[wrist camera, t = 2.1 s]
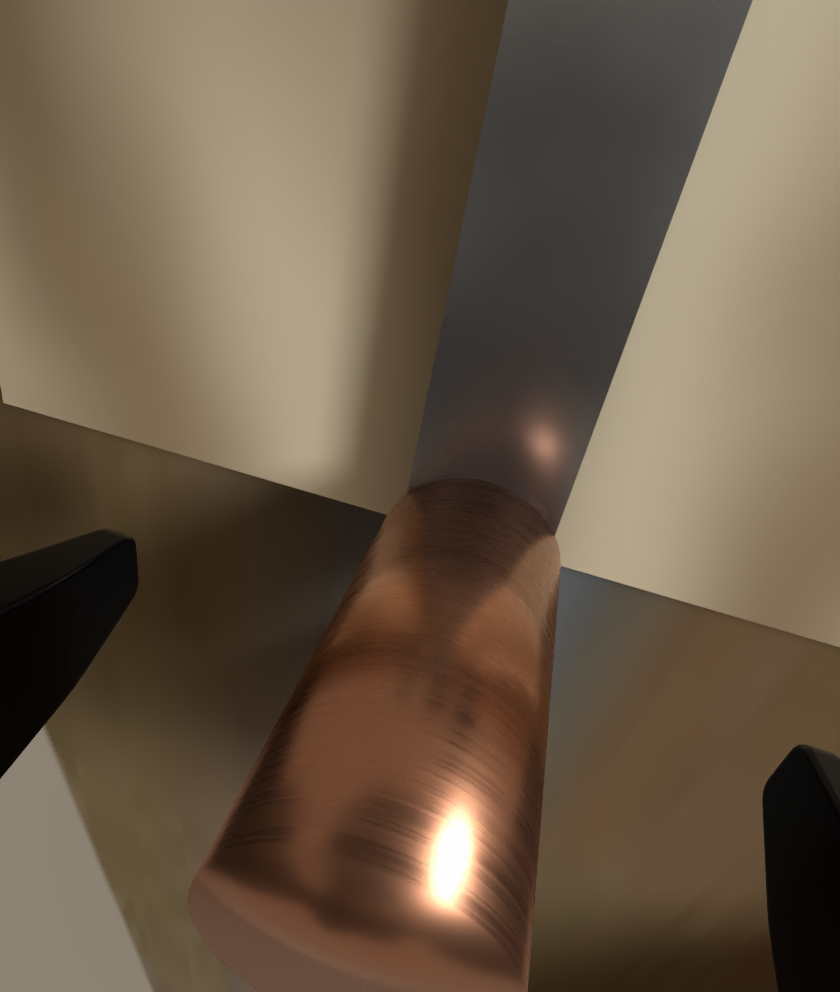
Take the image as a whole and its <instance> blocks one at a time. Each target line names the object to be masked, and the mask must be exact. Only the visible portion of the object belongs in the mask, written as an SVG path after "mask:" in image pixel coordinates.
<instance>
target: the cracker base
mask: <svg viewBox="0 0 840 992" xmlns="http://www.w3.org/2000/svg"><path fill="white" fill-rule="evenodd" d="M507 4H508V0H0V387H1V392H2V398H3V403H6V404H9V405H13V406H16V407H19V408H23V409H26V410H30V411H33V412H37V413H40V414H43V415H47V416H50V417H54V418H57V419H60V420H64V421H67V422H71V423H74V424H78V425H81V426H84V427H88V428H91V429H95V430H98V431H102V432H105V433H108V434H112V435H115V436H119V437H122V438H125V439H129V440H132V441H136V442H139V443H143V444H146V445H149V446H153V447H156V448H160V449H163V450H167V451H170V452H173V453H177V454H180V455H184V456H187V457H190V458H194V459H197V460H201V461H204V462H208V463H211V464H214V465H218V466H221V467H225V468H228V469H232V470H235V471H238V472H242V473H245V474H249V475H252V476H255V477H259V478H262V479H266V480H269V481H273V482H276V483H279V484H283V485H286V486H290V487H293V488H297V489H300V490H303V491H307V492H310V493H314V494H317V495H321V496H324V497H327V498H331V499H334V500H338V501H341V502H344V503H348V504H351V505H355V506H358V507H362V508H365V509H368V510H372V511H375V512H379V513H382V514H386V515H388V513H389V512H390V510H391V509H392V507H393V506H394V505H395V504H396V503H397V502H398V500H399V499H401V498H402V497H403V496H404V495H406V494H407V491H408V486H409V481H410V476H411V472H412V467H413V462H414V457H415V452H416V447H417V442H418V437H419V433H420V428H421V423H422V418H423V413H424V408H425V403H426V399H427V394H428V389H429V384H430V379H431V374H432V369H433V365H434V360H435V355H436V350H437V345H438V340H439V335H440V330H441V326H442V321H443V316H444V311H445V306H446V301H447V296H448V292H449V287H450V282H451V277H452V272H453V267H454V262H455V257H456V253H457V248H458V243H459V238H460V233H461V228H462V223H463V219H464V214H465V209H466V204H467V199H468V194H469V189H470V184H471V180H472V175H473V170H474V165H475V160H476V155H477V150H478V146H479V141H480V136H481V131H482V126H483V121H484V116H485V112H486V107H487V102H488V97H489V92H490V87H491V82H492V77H493V73H494V68H495V63H496V58H497V53H498V48H499V43H500V39H501V34H502V29H503V24H504V19H505V14H506V9H507ZM555 538H556V540H557V543H558V546H559V551H560V560H561V566H563V567H567V568H570V569H574V570H577V571H581V572H584V573H587V574H591V575H594V576H598V577H601V578H605V579H608V580H611V581H615V582H618V583H622V584H625V585H628V586H632V587H635V588H639V589H642V590H646V591H649V592H652V593H656V594H659V595H663V596H666V597H670V598H673V599H676V600H680V601H683V602H687V603H690V604H693V605H697V606H700V607H704V608H707V609H711V610H714V611H717V612H721V613H724V614H728V615H731V616H735V617H738V618H741V619H745V620H748V621H752V622H755V623H758V624H762V625H765V626H769V627H772V628H776V629H779V630H782V631H786V632H789V633H793V634H796V635H800V636H803V637H806V638H810V639H813V640H817V641H820V642H824V643H827V644H830V645H834V646H837V647H840V0H753V1H752V3H751V6H750V9H749V12H748V14H747V17H746V20H745V22H744V25H743V28H742V30H741V33H740V36H739V39H738V41H737V44H736V47H735V49H734V52H733V55H732V58H731V60H730V63H729V66H728V68H727V71H726V74H725V76H724V79H723V82H722V85H721V87H720V90H719V93H718V95H717V98H716V101H715V104H714V106H713V109H712V112H711V114H710V117H709V120H708V123H707V125H706V128H705V131H704V133H703V136H702V139H701V141H700V144H699V147H698V150H697V152H696V155H695V158H694V160H693V163H692V166H691V169H690V171H689V174H688V177H687V179H686V182H685V185H684V187H683V190H682V193H681V196H680V198H679V201H678V204H677V206H676V209H675V212H674V215H673V217H672V220H671V223H670V225H669V228H668V231H667V233H666V236H665V239H664V242H663V244H662V247H661V250H660V252H659V255H658V258H657V261H656V263H655V266H654V269H653V271H652V274H651V277H650V280H649V282H648V285H647V288H646V290H645V293H644V296H643V298H642V301H641V304H640V307H639V309H638V312H637V315H636V317H635V320H634V323H633V326H632V328H631V331H630V334H629V336H628V339H627V342H626V344H625V347H624V350H623V353H622V355H621V358H620V361H619V363H618V366H617V369H616V372H615V374H614V377H613V380H612V382H611V385H610V388H609V391H608V393H607V396H606V399H605V401H604V404H603V407H602V409H601V412H600V415H599V418H598V420H597V423H596V426H595V428H594V431H593V434H592V437H591V439H590V442H589V445H588V447H587V450H586V453H585V455H584V458H583V461H582V464H581V466H580V469H579V472H578V474H577V477H576V480H575V483H574V485H573V488H572V491H571V493H570V496H569V499H568V502H567V504H566V507H565V510H564V512H563V515H562V518H561V520H560V523H559V526H558V529H557V531H556V534H555Z"/></svg>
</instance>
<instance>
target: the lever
mask: <svg viewBox="0 0 840 992" xmlns="http://www.w3.org/2000/svg"><path fill="white" fill-rule="evenodd" d="M752 1H753V0H508V4H507V9H506V14H505V19H504V24H503V29H502V34H501V39H500V43H499V48H498V53H497V58H496V63H495V68H494V73H493V77H492V82H491V87H490V92H489V97H488V102H487V107H486V112H485V116H484V121H483V126H482V131H481V136H480V141H479V146H478V150H477V155H476V160H475V165H474V170H473V175H472V180H471V184H470V189H469V194H468V199H467V204H466V209H465V214H464V219H463V223H462V228H461V233H460V238H459V243H458V248H457V253H456V257H455V262H454V267H453V272H452V277H451V282H450V287H449V292H448V296H447V301H446V306H445V311H444V316H443V321H442V326H441V330H440V335H439V340H438V345H437V350H436V355H435V360H434V365H433V369H432V374H431V379H430V384H429V389H428V394H427V399H426V403H425V408H424V413H423V418H422V423H421V428H420V433H419V437H418V442H417V447H416V452H415V457H414V462H413V467H412V472H411V476H410V481H409V486H408V491H407V494H406V495H404V496H403V497H402V498H401V499H399V500H398V502H397V503H396V504H395V505H394V506H393V507H392V509H391V510H390V512H389V513H388V515H387V516H386V518H385V520H384V522H383V524H382V526H381V528H380V529H379V531H378V533H377V535H376V537H375V539H374V541H373V543H372V545H371V546H370V548H369V550H368V552H367V554H366V556H365V558H364V560H363V561H362V563H361V565H360V567H359V569H358V571H357V573H356V575H355V577H354V578H353V580H352V582H351V584H350V586H349V588H348V590H347V592H346V593H345V595H344V597H343V599H342V601H341V603H340V605H339V607H338V609H337V610H336V612H335V614H334V616H333V618H332V620H331V622H330V624H329V626H328V627H327V629H326V631H325V633H324V635H323V637H322V639H321V641H320V642H319V644H318V646H317V648H316V650H315V652H314V654H313V656H312V658H311V659H310V661H309V663H308V665H307V667H306V669H305V671H304V673H303V674H302V676H301V678H300V680H299V682H298V684H297V686H296V688H295V690H294V691H293V693H292V695H291V697H290V699H289V701H288V703H287V705H286V706H285V708H284V710H283V712H282V714H281V716H280V718H279V720H278V722H277V723H276V725H275V727H274V729H273V731H272V733H271V735H270V737H269V738H268V740H267V742H266V744H265V746H264V748H263V750H262V752H261V754H260V755H259V757H258V759H257V761H256V763H255V765H254V767H253V769H252V771H251V772H250V774H249V776H248V778H247V780H246V782H245V784H244V786H243V787H242V789H241V791H240V793H239V795H238V797H237V799H236V801H235V803H234V804H233V806H232V808H231V810H230V812H229V814H228V816H227V818H226V819H225V821H224V823H223V825H222V827H221V829H220V831H219V833H218V835H217V836H216V838H215V840H214V842H213V844H212V846H211V848H210V850H209V851H208V853H207V855H206V857H205V859H204V861H203V863H202V865H201V867H200V868H199V870H198V872H197V874H196V876H195V878H194V880H193V882H192V884H191V887H190V889H189V896H188V905H189V912H190V915H191V918H192V921H193V924H194V926H195V927H196V929H197V931H198V933H199V935H200V936H201V938H202V939H203V941H204V942H205V943H206V945H207V946H208V947H209V949H210V950H211V951H212V952H213V953H214V954H215V955H216V956H217V958H218V959H219V960H220V961H221V962H222V963H223V964H225V965H226V966H227V967H228V968H229V969H230V970H231V971H232V972H233V973H235V974H236V975H237V976H238V977H240V978H241V979H242V980H243V981H244V982H246V983H247V984H249V985H250V986H252V987H253V988H254V989H256V990H257V991H259V992H528V979H529V967H530V954H531V941H532V928H533V915H534V902H535V890H536V877H537V864H538V851H539V838H540V825H541V813H542V800H543V787H544V774H545V761H546V748H547V735H548V723H549V710H550V697H551V684H552V671H553V658H554V646H555V633H556V620H557V607H558V594H559V581H560V569H561V560H560V551H559V546H558V543H557V540H556V538H555V534H556V531H557V529H558V526H559V523H560V520H561V518H562V515H563V512H564V510H565V507H566V504H567V502H568V499H569V496H570V493H571V491H572V488H573V485H574V483H575V480H576V477H577V474H578V472H579V469H580V466H581V464H582V461H583V458H584V455H585V453H586V450H587V447H588V445H589V442H590V439H591V437H592V434H593V431H594V428H595V426H596V423H597V420H598V418H599V415H600V412H601V409H602V407H603V404H604V401H605V399H606V396H607V393H608V391H609V388H610V385H611V382H612V380H613V377H614V374H615V372H616V369H617V366H618V363H619V361H620V358H621V355H622V353H623V350H624V347H625V344H626V342H627V339H628V336H629V334H630V331H631V328H632V326H633V323H634V320H635V317H636V315H637V312H638V309H639V307H640V304H641V301H642V298H643V296H644V293H645V290H646V288H647V285H648V282H649V280H650V277H651V274H652V271H653V269H654V266H655V263H656V261H657V258H658V255H659V252H660V250H661V247H662V244H663V242H664V239H665V236H666V233H667V231H668V228H669V225H670V223H671V220H672V217H673V215H674V212H675V209H676V206H677V204H678V201H679V198H680V196H681V193H682V190H683V187H684V185H685V182H686V179H687V177H688V174H689V171H690V169H691V166H692V163H693V160H694V158H695V155H696V152H697V150H698V147H699V144H700V141H701V139H702V136H703V133H704V131H705V128H706V125H707V123H708V120H709V117H710V114H711V112H712V109H713V106H714V104H715V101H716V98H717V95H718V93H719V90H720V87H721V85H722V82H723V79H724V76H725V74H726V71H727V68H728V66H729V63H730V60H731V58H732V55H733V52H734V49H735V47H736V44H737V41H738V39H739V36H740V33H741V30H742V28H743V25H744V22H745V20H746V17H747V14H748V12H749V9H750V6H751V3H752Z"/></svg>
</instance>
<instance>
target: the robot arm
mask: <svg viewBox="0 0 840 992" xmlns="http://www.w3.org/2000/svg"><path fill="white" fill-rule="evenodd" d="M137 588H138V567H137V553H136V543H135V541H134V539H133V538H132V537H130V536H129V535H126V534H123V533H120V532H116V531H113V530H110V529H101V530H97V531H94V532H91V533H88V534H85V535H82V536H79V537H75V538H72V539H69V540H66V541H63V542H60V543H57V544H54V545H51V546H48V547H45V548H42V549H39V550H35V551H32V552H29V553H26V554H23V555H20V556H17V557H14V558H11V559H8V560H5V561H2V562H0V779H1V777H2V776H3V775H4V773H5V772H6V771H7V770H8V768H9V767H10V766H11V765H12V764H13V763H14V761H15V760H16V759H17V758H18V756H19V755H20V754H21V753H22V752H23V750H24V749H25V748H26V747H27V745H28V744H29V743H30V742H31V740H32V739H33V738H34V737H35V735H36V734H37V733H38V732H39V731H40V730H41V728H42V727H43V726H44V725H45V723H46V722H47V721H48V720H49V718H50V717H51V716H52V715H53V714H54V712H55V711H56V710H57V709H58V707H59V706H60V705H61V704H62V702H63V701H64V700H65V699H66V697H67V696H68V695H69V693H70V692H71V691H72V690H73V688H74V687H75V685H76V684H77V683H78V681H79V680H80V678H81V677H82V675H83V674H84V673H85V671H86V669H87V668H88V666H89V665H90V663H91V662H92V660H93V659H94V657H95V656H96V654H97V653H98V651H99V650H100V648H101V647H102V645H103V644H104V642H105V641H106V639H107V637H108V636H109V634H110V633H111V631H112V630H113V628H114V627H115V625H116V624H117V622H118V621H119V619H120V618H121V616H122V615H123V613H124V612H125V610H126V609H127V607H128V605H129V604H130V602H131V601H132V599H133V598H134V596H135V593H136V591H137ZM762 803H763V825H764V847H765V869H766V892H767V910H768V923H769V931H770V939H771V947H772V954H773V960H774V967H775V973H776V980H777V987H778V992H840V758H839V757H838V756H836V755H835V754H833V753H831V752H828V751H825V750H821V749H818V748H815V747H812V746H809V745H802V744H801V745H798V746H796V747H794V748H793V749H792V750H791V751H790V753H789V754H788V755H787V756H786V758H785V759H784V760H783V761H782V763H781V764H780V765H779V766H778V768H777V769H776V770H775V771H774V773H773V774H772V775H771V776H770V778H769V779H768V781H767V782H766V785H765V787H764V791H763V801H762Z"/></svg>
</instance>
